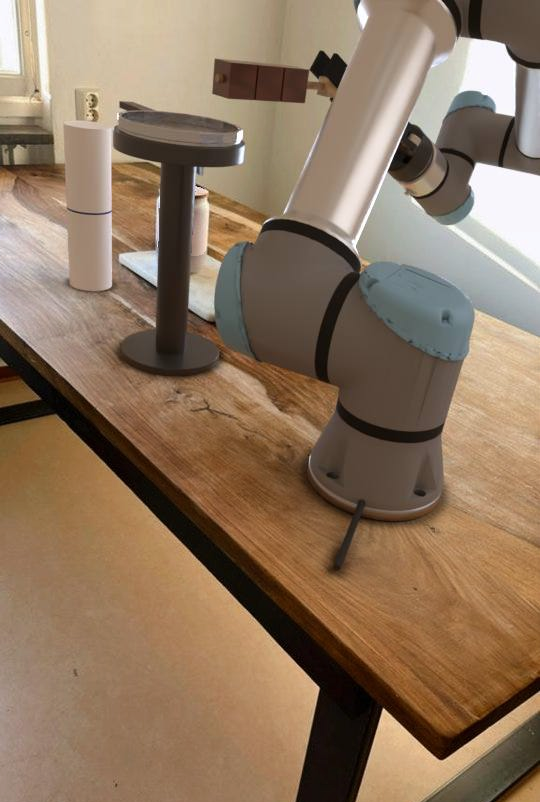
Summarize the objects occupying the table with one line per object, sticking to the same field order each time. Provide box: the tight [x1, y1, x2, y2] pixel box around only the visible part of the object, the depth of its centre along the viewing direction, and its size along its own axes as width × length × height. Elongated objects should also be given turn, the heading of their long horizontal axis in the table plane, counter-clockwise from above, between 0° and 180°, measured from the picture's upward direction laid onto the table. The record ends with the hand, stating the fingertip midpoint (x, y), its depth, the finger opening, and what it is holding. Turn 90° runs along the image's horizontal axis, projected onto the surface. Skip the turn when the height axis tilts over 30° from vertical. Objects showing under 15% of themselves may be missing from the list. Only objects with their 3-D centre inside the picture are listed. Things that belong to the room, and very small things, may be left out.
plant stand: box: [112, 100, 246, 377], centre depth 94 cm, size 16×23×30 cm
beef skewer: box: [211, 58, 337, 104], centre depth 90 cm, size 25×4×4 cm, turn 125°
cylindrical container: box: [62, 119, 113, 292], centre depth 113 cm, size 7×7×25 cm
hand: (323, 62), depth 90 cm, fingers closed on beef skewer, 2 cm apart
